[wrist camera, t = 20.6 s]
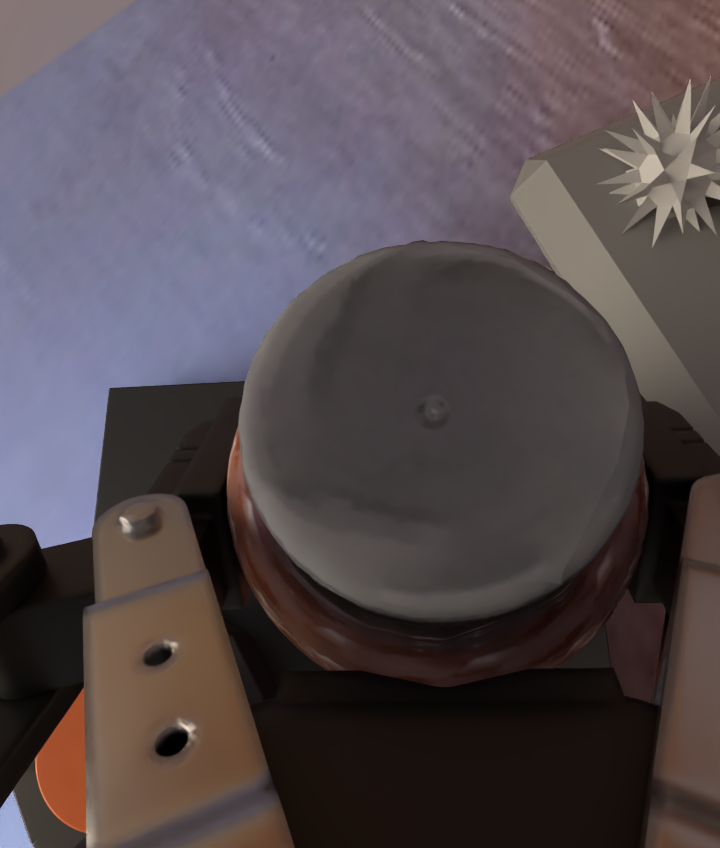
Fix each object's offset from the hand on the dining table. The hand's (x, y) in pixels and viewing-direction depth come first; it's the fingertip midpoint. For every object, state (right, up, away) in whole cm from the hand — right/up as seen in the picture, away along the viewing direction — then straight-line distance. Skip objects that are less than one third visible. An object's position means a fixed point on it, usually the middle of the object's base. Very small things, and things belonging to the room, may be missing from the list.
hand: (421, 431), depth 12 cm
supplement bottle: (+1, -3, +5) cm, 6 cm away
